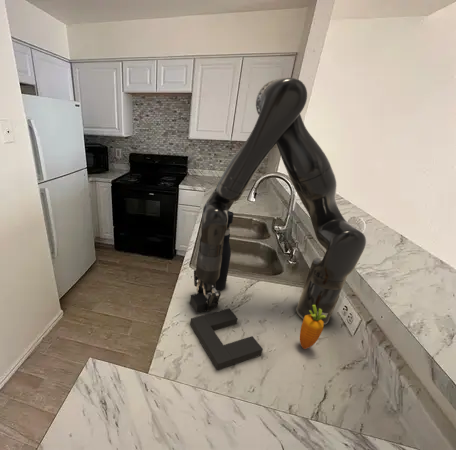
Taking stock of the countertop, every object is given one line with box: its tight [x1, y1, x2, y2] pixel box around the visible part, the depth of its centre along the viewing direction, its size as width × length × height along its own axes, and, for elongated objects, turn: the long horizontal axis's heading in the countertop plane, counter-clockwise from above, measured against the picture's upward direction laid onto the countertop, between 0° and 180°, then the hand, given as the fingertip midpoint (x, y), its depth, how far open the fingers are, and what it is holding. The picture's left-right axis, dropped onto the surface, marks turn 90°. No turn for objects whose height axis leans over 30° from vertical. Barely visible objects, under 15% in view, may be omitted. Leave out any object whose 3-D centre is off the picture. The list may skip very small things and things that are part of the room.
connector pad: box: [189, 292, 220, 314], centre depth 86 cm, size 8×5×4 cm, turn 109°
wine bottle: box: [215, 210, 234, 292], centre depth 90 cm, size 6×6×30 cm
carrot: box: [299, 305, 326, 350], centre depth 69 cm, size 5×5×15 cm
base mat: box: [189, 307, 264, 371], centre depth 74 cm, size 14×16×2 cm
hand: (203, 304), depth 87 cm, fingers closed on connector pad, 5 cm apart
